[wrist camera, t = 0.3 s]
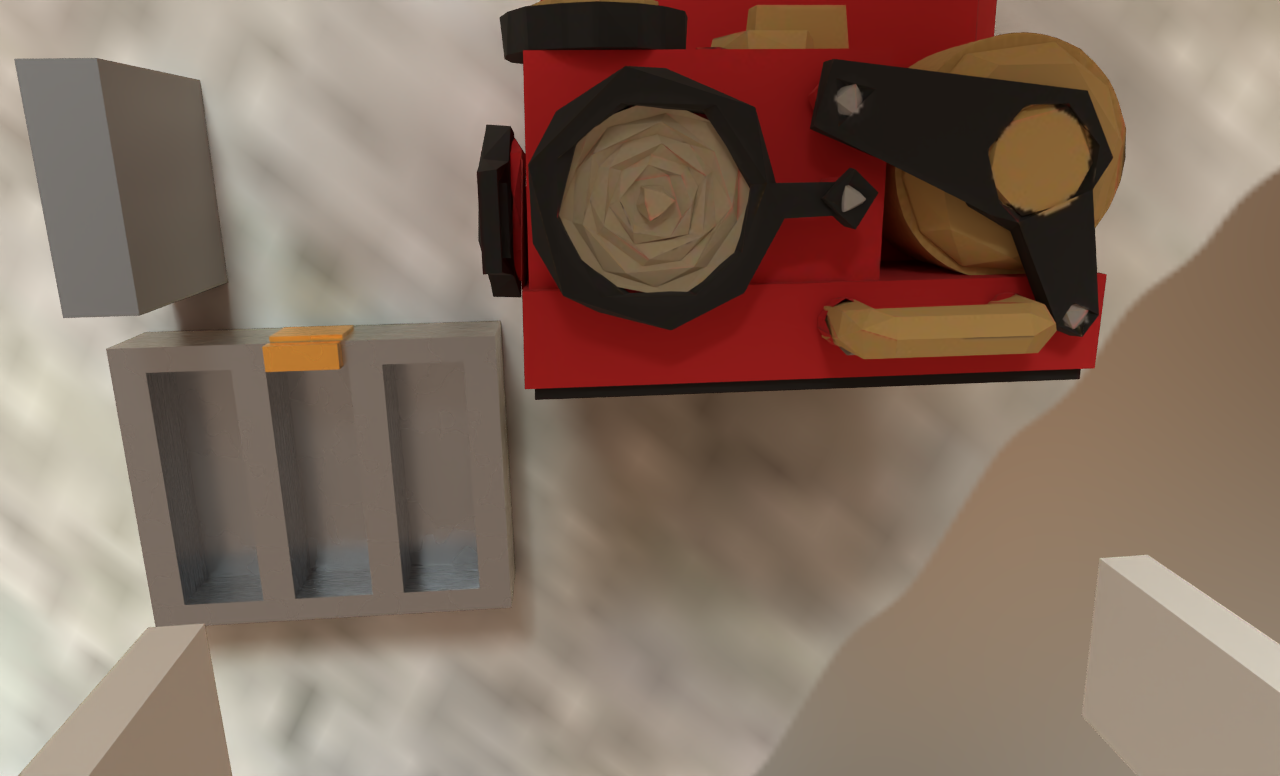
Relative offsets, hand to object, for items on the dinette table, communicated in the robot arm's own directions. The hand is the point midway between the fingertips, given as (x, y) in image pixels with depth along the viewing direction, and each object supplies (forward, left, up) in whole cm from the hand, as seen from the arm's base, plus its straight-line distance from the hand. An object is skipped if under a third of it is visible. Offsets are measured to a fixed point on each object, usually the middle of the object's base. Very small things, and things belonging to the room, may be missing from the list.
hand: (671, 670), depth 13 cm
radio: (-7, +4, -27) cm, 28 cm away
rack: (+5, -12, -26) cm, 29 cm away
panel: (-7, -17, -27) cm, 32 cm away
